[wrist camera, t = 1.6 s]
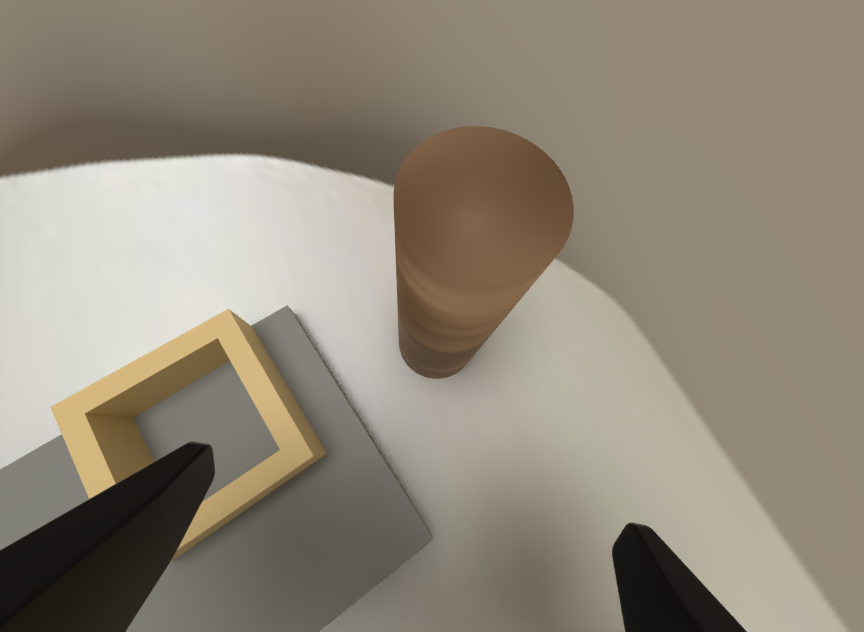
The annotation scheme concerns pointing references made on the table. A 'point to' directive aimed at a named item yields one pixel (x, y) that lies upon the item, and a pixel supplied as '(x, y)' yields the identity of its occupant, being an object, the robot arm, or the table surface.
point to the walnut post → (471, 239)
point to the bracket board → (234, 478)
